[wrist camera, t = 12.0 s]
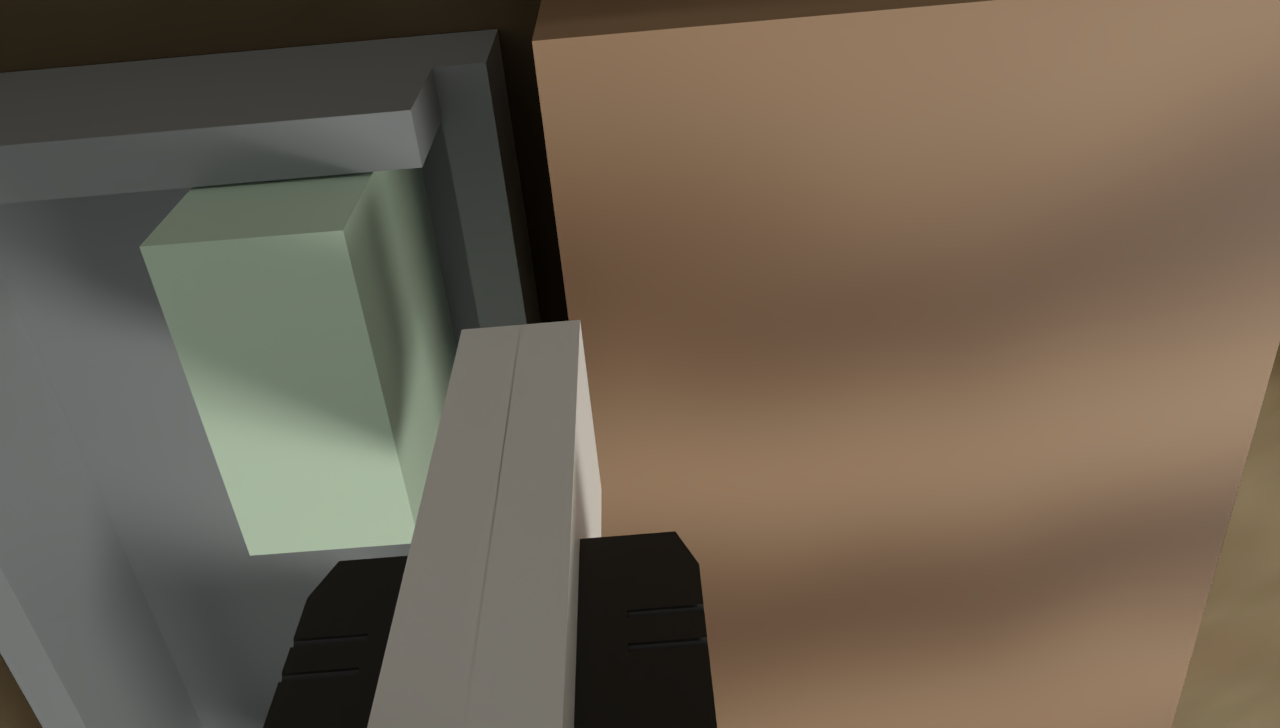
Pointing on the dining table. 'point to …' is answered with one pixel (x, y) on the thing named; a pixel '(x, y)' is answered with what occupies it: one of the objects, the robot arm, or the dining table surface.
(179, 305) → the sage tile
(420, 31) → the dining table surface
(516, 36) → the dining table surface
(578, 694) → the robot arm
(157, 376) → the tray
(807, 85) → the walnut riser
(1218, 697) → the dining table surface
